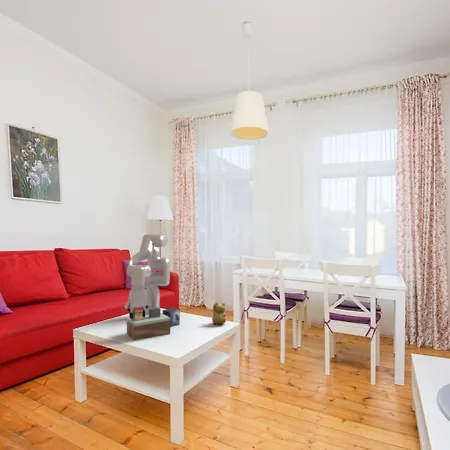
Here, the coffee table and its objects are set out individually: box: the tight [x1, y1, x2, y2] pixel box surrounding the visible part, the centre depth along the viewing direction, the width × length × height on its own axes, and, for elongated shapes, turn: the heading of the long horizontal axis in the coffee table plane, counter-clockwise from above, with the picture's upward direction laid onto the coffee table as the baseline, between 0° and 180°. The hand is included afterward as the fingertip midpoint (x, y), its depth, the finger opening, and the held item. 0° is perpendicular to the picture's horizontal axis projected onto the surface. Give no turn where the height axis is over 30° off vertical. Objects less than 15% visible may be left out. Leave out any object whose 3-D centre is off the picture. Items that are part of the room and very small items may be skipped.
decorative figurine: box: [211, 300, 227, 326], centre depth 216 cm, size 10×8×15 cm
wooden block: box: [132, 308, 143, 321], centre depth 190 cm, size 4×4×6 cm
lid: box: [126, 307, 170, 326], centre depth 195 cm, size 14×22×6 cm, turn 127°
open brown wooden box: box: [126, 320, 171, 341], centre depth 194 cm, size 14×22×8 cm, turn 125°
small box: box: [162, 307, 181, 328], centre depth 212 cm, size 11×6×10 cm, turn 143°
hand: (137, 317), depth 190 cm, fingers open, 6 cm apart
